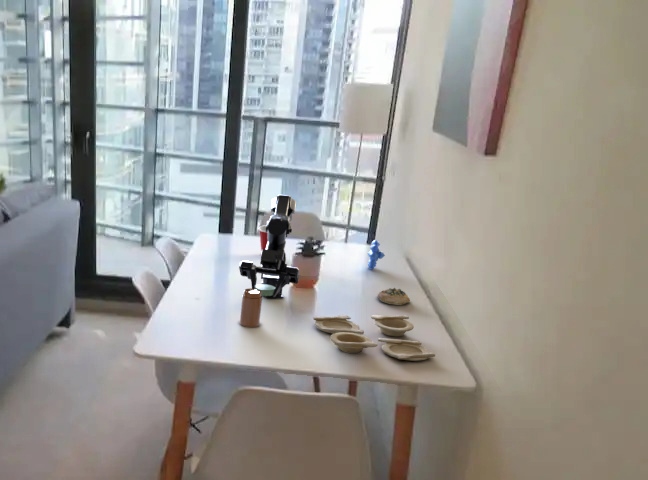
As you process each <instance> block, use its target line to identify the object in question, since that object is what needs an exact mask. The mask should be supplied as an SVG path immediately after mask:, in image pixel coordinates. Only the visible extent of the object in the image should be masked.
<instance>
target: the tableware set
mask: <svg viewBox="0 0 648 480" xmlns="http://www.w3.org/2000/svg"><path fill="white" fill-rule="evenodd" d="M351 319H352V317H350V316H349V315H347V314H340V315H337V316H314V317H313V318H312V320H313V321H314V326H315V327H316V328H317V329H318V330H320V331H322V332H324V333H328V334H331V335H330V337H329V338H330V339H329V340H330V341H331V342H332V343H333V344H334V345H335V346H337V349H338V350H340V351H342V352H344V353H350V354H358V353H361V352H362V351H363V350H364V349H367V348H377V347H378V343H377V342H374V341H372V340H371V338H369V337H368V336H366V335H364V333H365V331H364V330H363V329H360V325H359V324H357V323H356V322H354V321H351ZM370 319H372V320H374V321H373V323H374V325H376V327H377V328H379V329H380V332H381V333H382V334H383V335H386V336H389V337H402V336H404V335H405V334H406V333H407V332H410V331H413V330H414V326H415V325H414V324H413V323H412V322H410V321H408V320H409V319H410V316H409V315H380V314H373V315H371V316H370ZM377 341H378V342H380V343H384V344H382V346H381V351H382V352H383V353H384V354H386V355H387V356H389V357H392V358H395V359H398V360H403V361H404V360H405V361H411V362H412V361H413V362H415V361H416V362H417V361H424V360H427V359H429V358H434V357H436V354H435V353H434V352H431V351H430V350H429V349H428V348H426V347H424V346H422V342H421V341H418V340H417V341H416V340H406V339H395V338H383V337H378V339H377Z"/></svg>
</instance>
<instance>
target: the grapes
mask: <svg viewBox="0 0 648 480" xmlns="http://www.w3.org/2000/svg"><path fill="white" fill-rule="evenodd" d="M370 245H371V246H370V248H369V249H370V251H369V252H367V256H368V257H369V260H368V261H367V263H368V264H367V266H368V268H369V269H370V270H373V269H374V268H376V267H377V264H378V263H377V262H378V261H379V260H381V259H383V258H384V257H385V256H386V255H385V254H384V252H383V251H381V249H380V248H379V247H380V245H381V244H380V242H379V240H377V239H374V240H373V241H372V242H371V243H370Z"/></svg>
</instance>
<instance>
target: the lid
mask: <svg viewBox="0 0 648 480" xmlns="http://www.w3.org/2000/svg"><path fill="white" fill-rule="evenodd" d="M254 289H258V290H260V291H261V293H262V294H261V296H262V297H264V296H272V295H273V294H274V290H275V287H274V286H272V285H267V284H262V283H258V284H256V285H255V286H254Z"/></svg>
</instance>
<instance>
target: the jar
mask: <svg viewBox="0 0 648 480" xmlns="http://www.w3.org/2000/svg"><path fill="white" fill-rule="evenodd" d="M261 294H262V293H261V291H260V290H258V289H252V288H245V289H243V294H242V296H241V307H240V317H239V325H241V326H243V327H246V328H257V327H259V326H260V321H261V313H262V312H261V311H262V304H263V296H262V295H261Z"/></svg>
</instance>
